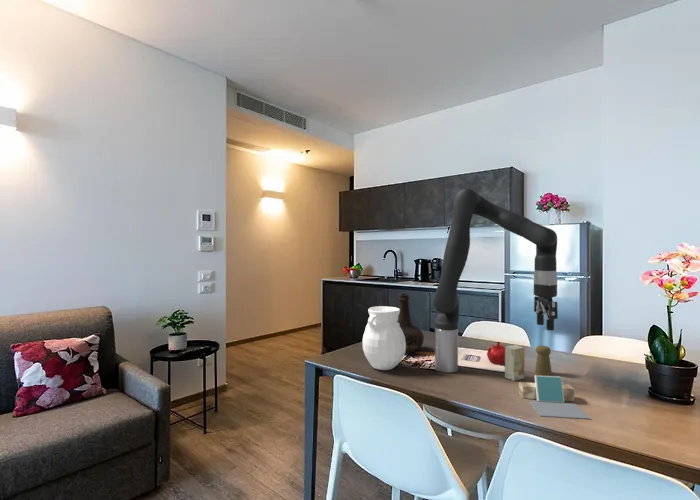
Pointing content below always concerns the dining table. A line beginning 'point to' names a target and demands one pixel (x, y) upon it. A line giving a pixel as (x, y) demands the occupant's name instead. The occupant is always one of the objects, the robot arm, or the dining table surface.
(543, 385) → the tile
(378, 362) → the pitcher
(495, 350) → the pomegranate
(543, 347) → the olive pawn figure
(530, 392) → the beech block
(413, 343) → the glass bottle
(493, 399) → the dining table surface
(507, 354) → the skincare box
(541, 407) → the mat
